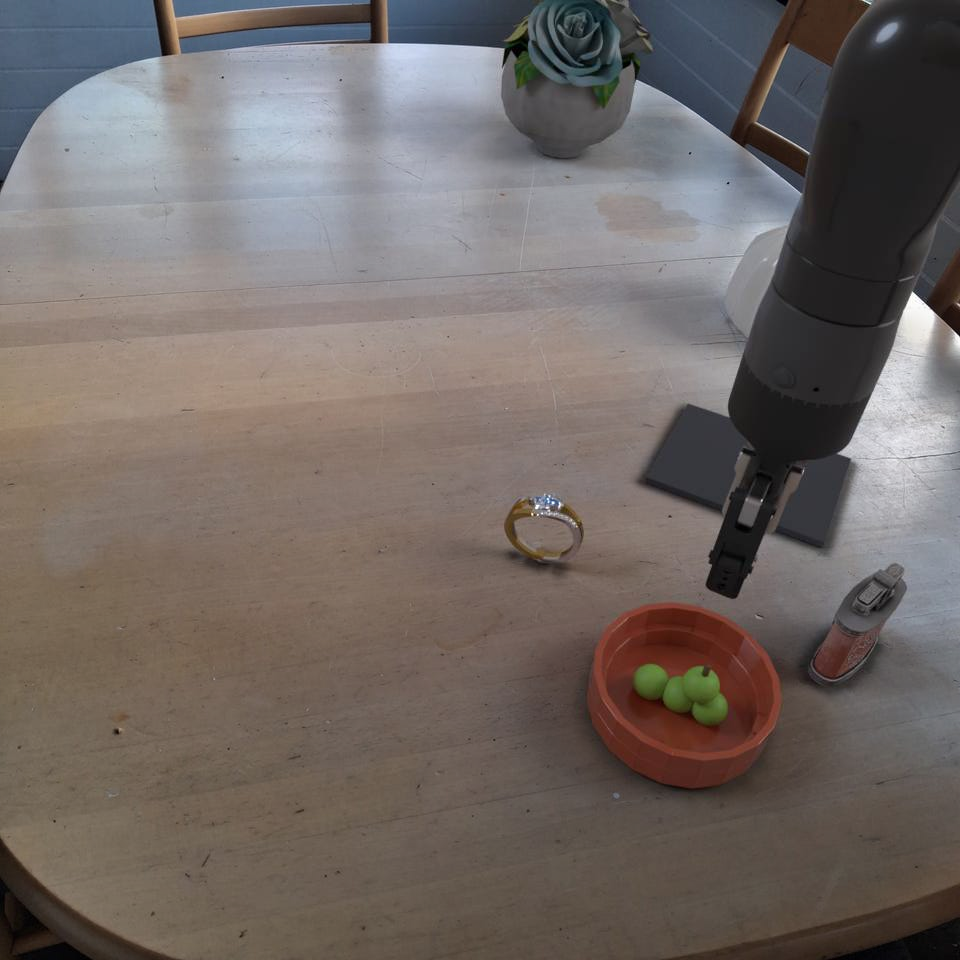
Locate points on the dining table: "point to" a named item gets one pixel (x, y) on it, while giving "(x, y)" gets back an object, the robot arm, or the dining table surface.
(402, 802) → the dining table surface
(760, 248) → the vase
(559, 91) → the flower arrangement
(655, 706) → the bowl
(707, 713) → the grapes
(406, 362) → the dining table surface
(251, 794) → the dining table surface
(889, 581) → the lighter
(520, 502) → the ring
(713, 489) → the slate board
